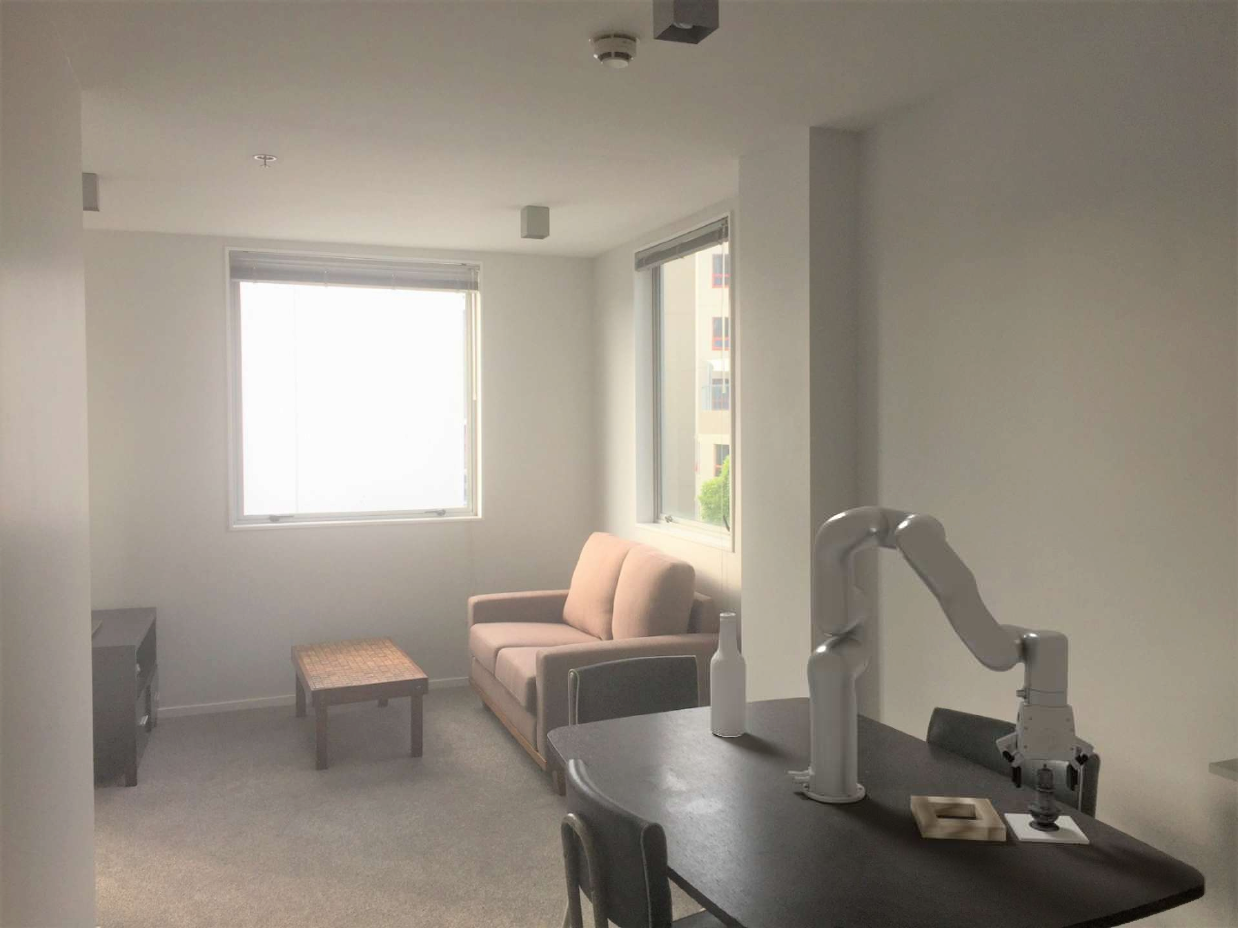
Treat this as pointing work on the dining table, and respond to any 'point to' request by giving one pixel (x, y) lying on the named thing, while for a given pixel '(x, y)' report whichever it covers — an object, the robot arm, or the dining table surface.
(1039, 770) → the black chess piece
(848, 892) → the dining table surface
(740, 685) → the alcohol
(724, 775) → the dining table surface
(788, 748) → the dining table surface
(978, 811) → the frame
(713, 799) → the dining table surface
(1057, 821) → the rubber mat
